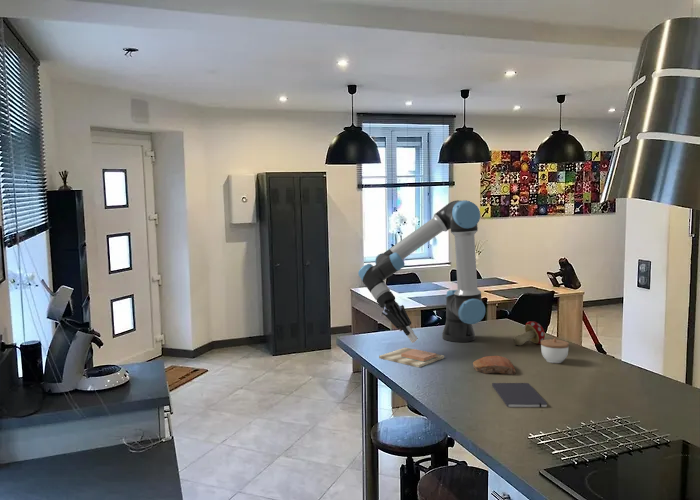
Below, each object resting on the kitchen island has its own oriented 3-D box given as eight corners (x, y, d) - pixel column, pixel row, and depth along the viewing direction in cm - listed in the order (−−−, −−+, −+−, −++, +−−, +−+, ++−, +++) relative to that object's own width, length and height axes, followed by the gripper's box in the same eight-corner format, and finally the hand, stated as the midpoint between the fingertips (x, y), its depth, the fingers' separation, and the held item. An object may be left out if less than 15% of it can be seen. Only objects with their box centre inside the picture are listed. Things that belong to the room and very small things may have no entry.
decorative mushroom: (512, 327, 259) (539, 314, 263) (504, 335, 269) (530, 322, 273) (526, 350, 255) (553, 335, 259) (517, 357, 265) (544, 343, 269)
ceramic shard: (470, 350, 235) (507, 356, 234) (468, 367, 234) (505, 372, 234) (478, 356, 220) (517, 362, 220) (475, 373, 220) (515, 379, 219)
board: (378, 358, 243) (378, 355, 243) (405, 349, 256) (405, 347, 256) (418, 367, 229) (418, 364, 229) (444, 358, 243) (444, 355, 243)
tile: (401, 353, 240) (423, 358, 233) (414, 349, 247) (436, 353, 240) (401, 357, 241) (423, 362, 233) (414, 352, 247) (436, 357, 240)
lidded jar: (564, 357, 242) (565, 335, 242) (571, 365, 232) (572, 341, 231) (537, 357, 243) (538, 335, 243) (543, 364, 233) (544, 341, 232)
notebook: (492, 387, 207) (507, 408, 186) (492, 382, 207) (507, 404, 186) (528, 387, 207) (548, 408, 186) (528, 382, 207) (548, 403, 186)
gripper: (388, 299, 257) (418, 342, 247) (368, 303, 248) (400, 348, 238) (397, 288, 253) (429, 332, 243) (378, 292, 244) (410, 338, 234)
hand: (414, 340), depth 241 cm, fingers closed
